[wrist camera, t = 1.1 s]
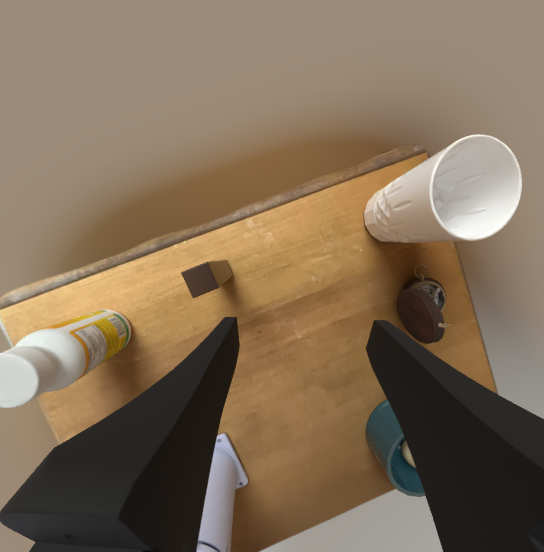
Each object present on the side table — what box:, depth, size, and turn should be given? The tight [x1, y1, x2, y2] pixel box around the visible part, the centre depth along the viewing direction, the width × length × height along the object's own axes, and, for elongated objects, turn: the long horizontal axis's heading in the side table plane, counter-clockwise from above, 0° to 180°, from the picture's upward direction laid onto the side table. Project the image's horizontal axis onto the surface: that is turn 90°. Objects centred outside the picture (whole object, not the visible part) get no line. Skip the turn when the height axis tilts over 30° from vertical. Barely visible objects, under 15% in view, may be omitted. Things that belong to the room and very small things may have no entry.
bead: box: [401, 440, 416, 468], centre depth 26 cm, size 3×3×3 cm
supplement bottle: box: [0, 310, 131, 408], centre depth 18 cm, size 5×5×10 cm
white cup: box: [364, 135, 522, 243], centre depth 20 cm, size 8×8×10 cm
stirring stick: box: [181, 260, 233, 298], centre depth 19 cm, size 2×2×10 cm
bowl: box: [366, 399, 426, 497], centre depth 26 cm, size 10×10×4 cm
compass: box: [397, 264, 450, 344], centre depth 23 cm, size 8×8×7 cm
